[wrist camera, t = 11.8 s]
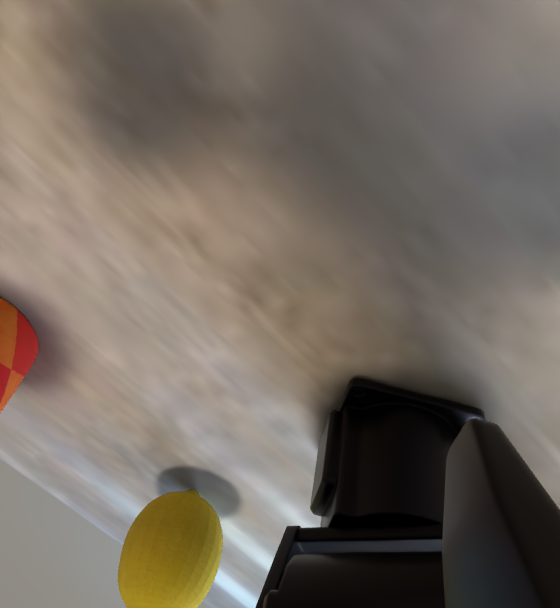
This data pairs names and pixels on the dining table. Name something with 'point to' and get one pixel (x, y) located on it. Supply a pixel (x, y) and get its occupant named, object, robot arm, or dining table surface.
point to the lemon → (171, 553)
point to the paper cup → (14, 350)
